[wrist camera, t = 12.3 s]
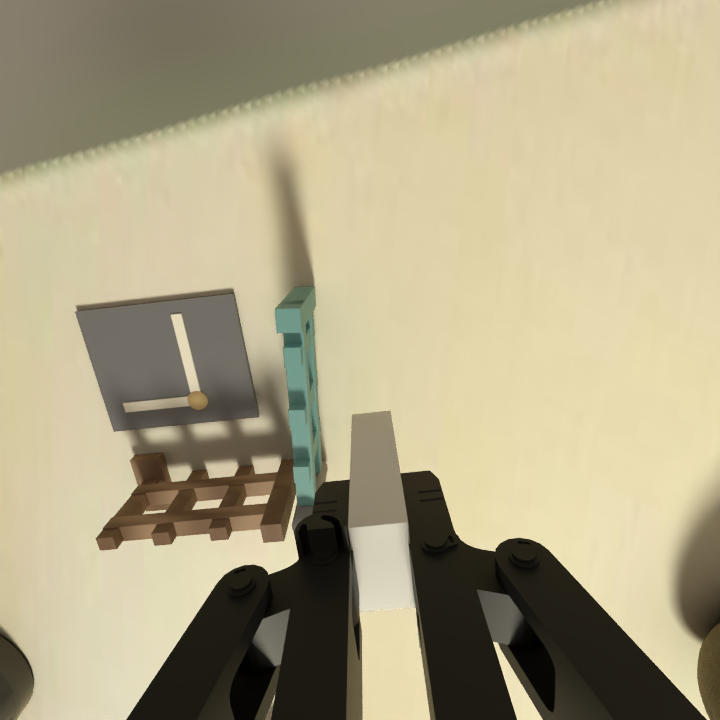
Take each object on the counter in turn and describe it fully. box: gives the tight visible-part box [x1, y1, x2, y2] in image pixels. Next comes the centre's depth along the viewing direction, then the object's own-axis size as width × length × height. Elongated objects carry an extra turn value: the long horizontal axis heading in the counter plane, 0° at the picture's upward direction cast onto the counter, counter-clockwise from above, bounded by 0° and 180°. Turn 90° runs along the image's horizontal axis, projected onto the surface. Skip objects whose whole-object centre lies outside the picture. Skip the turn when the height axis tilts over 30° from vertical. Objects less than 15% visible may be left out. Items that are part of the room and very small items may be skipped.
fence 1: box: [96, 453, 296, 550], centre depth 34 cm, size 14×5×8 cm, turn 97°
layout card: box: [75, 293, 259, 432], centre depth 34 cm, size 12×10×1 cm
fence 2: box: [275, 287, 327, 531], centre depth 31 cm, size 16×2×8 cm, turn 1°
